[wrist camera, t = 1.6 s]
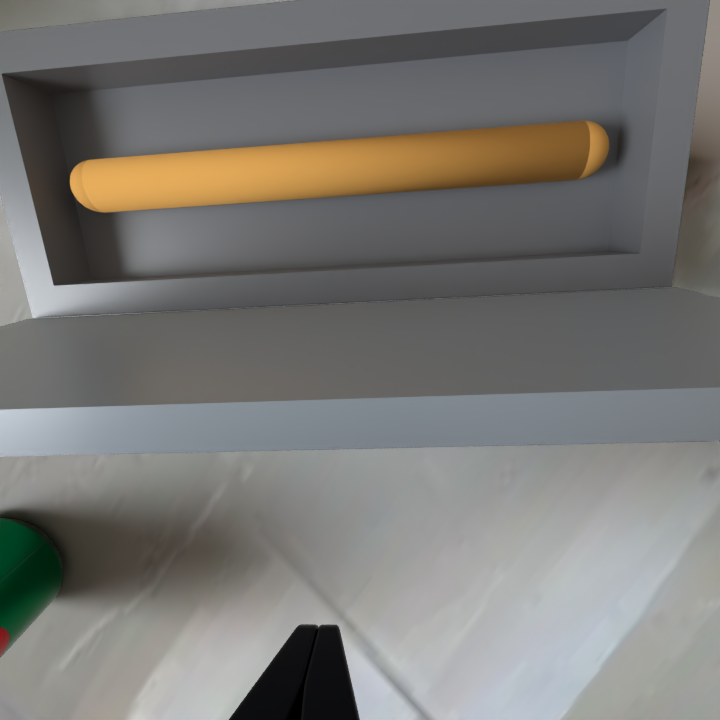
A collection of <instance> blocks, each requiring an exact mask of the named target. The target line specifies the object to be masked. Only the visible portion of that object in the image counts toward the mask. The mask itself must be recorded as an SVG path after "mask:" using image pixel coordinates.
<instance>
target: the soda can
mask: <svg viewBox="0 0 720 720" xmlns="http://www.w3.org/2000/svg"><path fill="white" fill-rule="evenodd" d="M62 578H63V568H62V560H61V557H60V554H59V552H58V549H57V548H56V546H55V545H54V543H53V542H52V541H51V540H50V538H49V537H48V536H47V535H45V534H44V533H43V532H42V531H40V530H39V529H38V528H36V527H34V526H32V525H31V524H28V523H26V522H23V521H20V520H16V519H8V518H0V658H1V656H2V655H3V654H4V653H5V652H6V651H7V650H8V649H9V648H10V647H11V646H12V645H13V643H14V642H15V641H16V640H17V639H18V638H19V637H20V636H21V635H22V634H23V633H24V632H25V630H26V629H27V628H28V627H29V626H30V625H31V624H32V623H33V622H34V621H35V620H36V619H37V617H38V616H39V615H40V614H41V613H42V612H43V611H44V610H45V609H46V608H47V607H48V606H49V605H50V603H51V602H52V601H53V600H54V599H55V598H56V597H57V595H58V593H59V591H60V589H61V586H62Z"/></svg>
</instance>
